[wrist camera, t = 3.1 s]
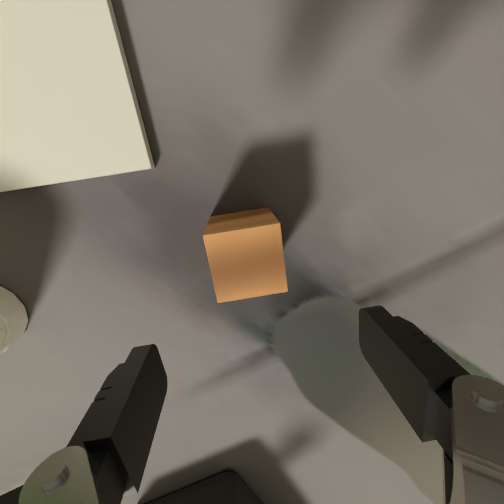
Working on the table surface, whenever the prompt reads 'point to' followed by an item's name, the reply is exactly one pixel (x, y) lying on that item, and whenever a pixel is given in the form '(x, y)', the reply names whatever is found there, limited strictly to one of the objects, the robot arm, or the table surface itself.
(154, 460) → the table surface
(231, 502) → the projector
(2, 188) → the pad
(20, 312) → the white cup
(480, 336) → the table surface
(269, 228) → the orange block
